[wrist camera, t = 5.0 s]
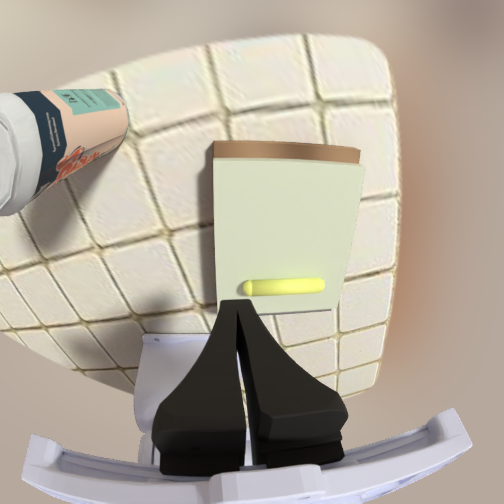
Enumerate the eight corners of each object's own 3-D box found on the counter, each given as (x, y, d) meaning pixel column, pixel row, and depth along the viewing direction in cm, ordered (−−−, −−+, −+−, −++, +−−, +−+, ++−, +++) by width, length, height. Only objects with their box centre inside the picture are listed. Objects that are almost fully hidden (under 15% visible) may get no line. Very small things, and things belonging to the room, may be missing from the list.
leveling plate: (217, 311, 24) (218, 329, 22) (213, 158, 18) (212, 165, 16) (332, 305, 25) (340, 321, 23) (358, 163, 19) (373, 171, 17)
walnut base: (218, 307, 25) (218, 315, 24) (214, 140, 18) (213, 142, 17) (327, 301, 26) (330, 308, 25) (354, 147, 19) (360, 150, 18)
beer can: (69, 153, 17) (-46, 222, 7) (74, 89, 15) (-53, 105, 4) (127, 156, 18) (31, 233, 7) (135, 89, 16) (29, 86, 5)
